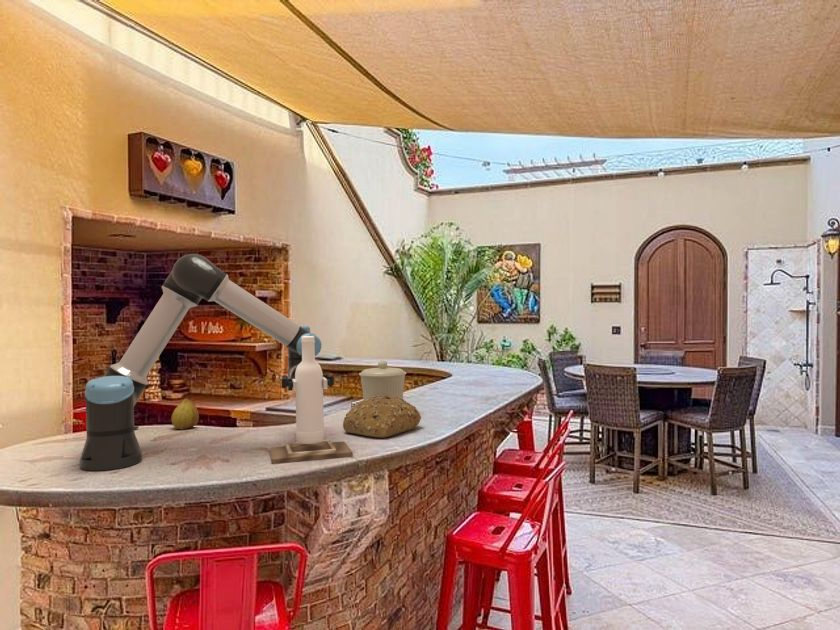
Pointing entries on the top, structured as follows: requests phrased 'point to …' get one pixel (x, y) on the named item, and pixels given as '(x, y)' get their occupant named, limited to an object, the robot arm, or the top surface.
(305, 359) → the bottle
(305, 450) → the serving board
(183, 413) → the fruit
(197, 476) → the top surface
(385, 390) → the canister
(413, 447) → the top surface
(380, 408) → the bread
